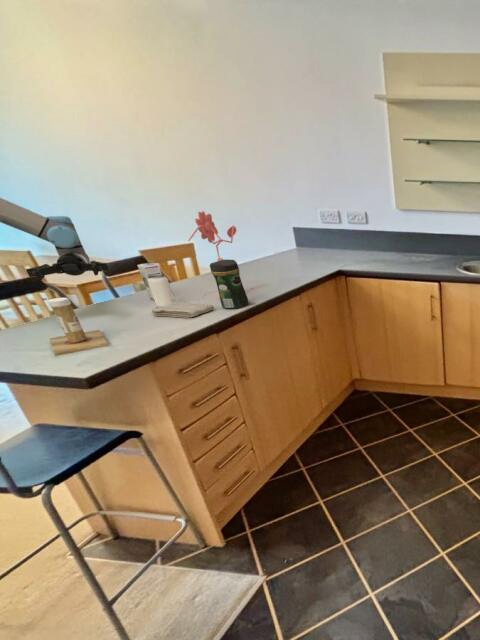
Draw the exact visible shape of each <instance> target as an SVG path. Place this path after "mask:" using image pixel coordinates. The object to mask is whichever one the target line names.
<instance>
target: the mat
mask: <svg viewBox="0 0 480 640" xmlns="http://www.w3.org/2000/svg"><path fill="white" fill-rule="evenodd" d="M84 333H85V335H86V337H87V339H86V340H84V341H80V342H73V343H72V342H68V339H67V337H66V335H61V336H57V337H56V336H55V337H50V338H49V343H50V345H51V348H52V351H53V354H54V356H56V357H57V356H61V355H67V354H72V353H78V352H82V351H87V350H88V351H89V350H93V349H97V348H102V347H107V346H108V347H109V343H108V341H107V340H106V338H105V337H104V335H103V334H102V332H101V330H100V329H97V330H96V329H95V330H89V331H85V332H84Z"/></svg>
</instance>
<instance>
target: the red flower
mask: <svg viewBox="0 0 480 640" xmlns="http://www.w3.org/2000/svg"><path fill="white" fill-rule="evenodd" d="M197 215H198V218H195V219H194V222H195V223H196V225H197V228H196V229H195V230H194V231H193V233H192V234H191V236H190V237H189V239H188V240H187V241H188V242H190V241H191V239H192V238H193V237H194V236H195V234H196V233H197V231H198V232H200V233H201V234H200V237H201V239H202V240H206V239H207V242H209V243H210V244H211V243H212V245H215V249H216V252H217V257H218V259H217V260H216V262H217V261H221V260H225V259H224V258H222V257H220V253H219V247H218V246H219V245H221V243H223V242H225V243H229V244H232V243H233V239H234V236H235V235H236V233H237V227H236V226H235V225H232V226H230V227H229V228H228V229H227V230H226V234H227V236H228V237H229V238H230V240H225V239H222V238H221V237H220V236H219V235H218V234H219V231H218V229H217V226H216V225H215V222H214V221H213V216H212V214H211V213H207V214H206V212H205V211H204V210H202V211H197ZM216 237H217V238H218V240H216ZM251 289H254V288H252V287H251V288H250V290H251ZM216 292H217V293H218V290H216V291H212V292H211V294H212V293H216ZM208 294H210V292H209V293H207V294H206V293H205V294H204V295H203V297H205V296H207V295H208ZM219 299H220V296H219ZM203 300H204V301H205V300H206V299H205V298H203Z"/></svg>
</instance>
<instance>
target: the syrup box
mask: <svg viewBox="0 0 480 640" xmlns="http://www.w3.org/2000/svg"><path fill="white" fill-rule="evenodd" d="M137 268H138V271H139V273H140V276H141V278H142V281H143V284H144V286H145V289H146V291H147V293H148V296H149V298H150V299H152V300H154V297H153V295H152V292H151V290H150V287H149V284H148V278H147V277H148V276H152V275H163V273H162V270H161V268H160V265H159V264H158V263H153V262H145V263H140V264H137Z"/></svg>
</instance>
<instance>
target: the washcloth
mask: <svg viewBox="0 0 480 640" xmlns="http://www.w3.org/2000/svg"><path fill="white" fill-rule="evenodd" d="M214 309H215V306H214V305H212V304H209V303H198V302H181V301H176V302H174V303H171V304H169V305H166V306H160V307H158V306H156V307H155V308H152V309H151V310H150V311H151V312H150V314H151V315H154V316H156V317H170V318H171V317H172V318H185V319H187V318H188V319H189V318H194V317H197V316H200V315H202V314H206V313H208V312H211V311H213V310H214Z"/></svg>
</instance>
